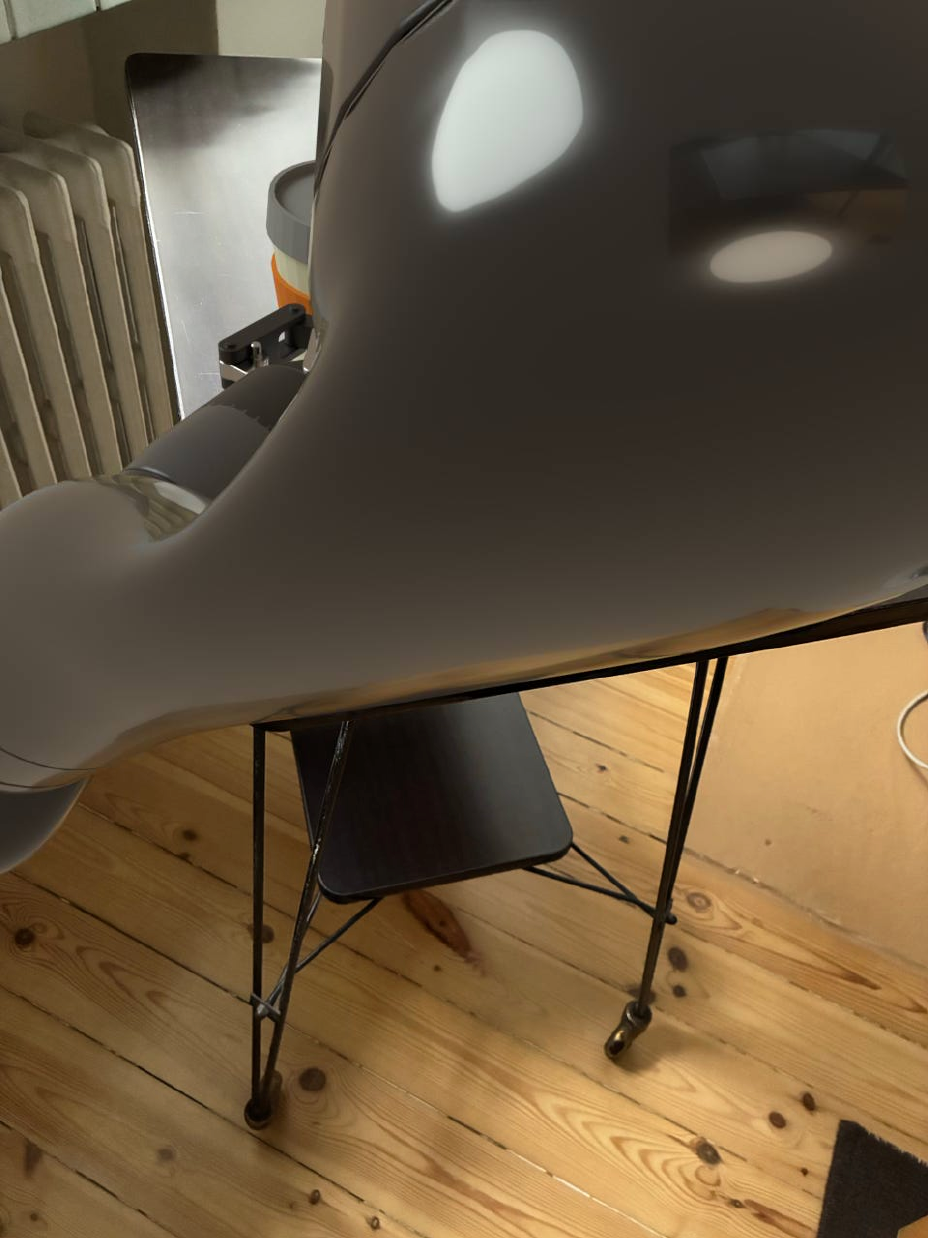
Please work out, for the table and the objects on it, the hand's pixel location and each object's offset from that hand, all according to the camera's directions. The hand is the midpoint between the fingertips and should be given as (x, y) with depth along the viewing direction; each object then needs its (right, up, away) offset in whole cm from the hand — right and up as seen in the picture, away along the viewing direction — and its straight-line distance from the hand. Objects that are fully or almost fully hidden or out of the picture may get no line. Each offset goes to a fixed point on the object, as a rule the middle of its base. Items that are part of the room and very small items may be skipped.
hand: (434, 328), depth 55 cm
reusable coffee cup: (-8, +5, +29) cm, 31 cm away
